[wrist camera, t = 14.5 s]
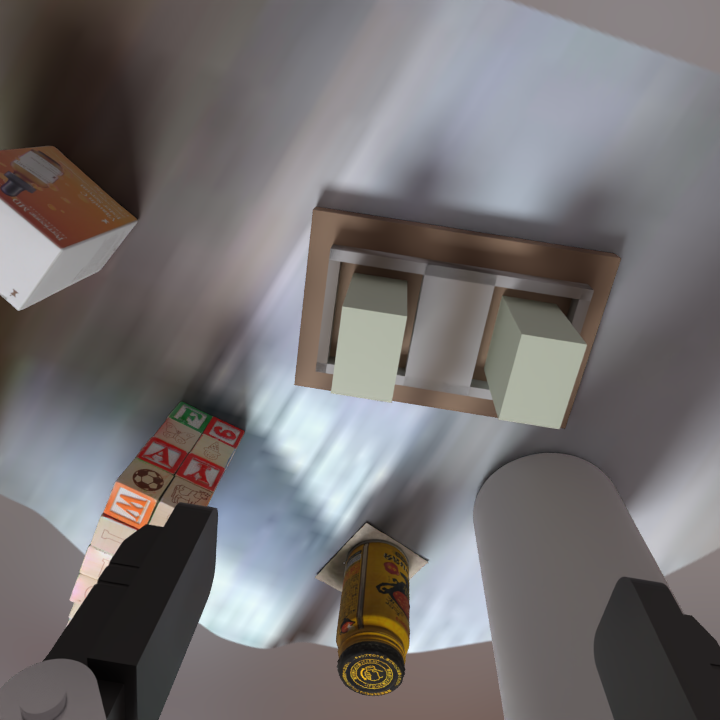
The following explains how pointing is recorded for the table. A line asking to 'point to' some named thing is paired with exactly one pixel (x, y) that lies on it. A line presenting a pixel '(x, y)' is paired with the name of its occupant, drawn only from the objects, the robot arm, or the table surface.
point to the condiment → (372, 609)
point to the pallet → (450, 251)
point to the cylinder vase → (553, 580)
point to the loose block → (370, 337)
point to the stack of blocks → (160, 485)
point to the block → (532, 362)
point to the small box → (52, 224)
